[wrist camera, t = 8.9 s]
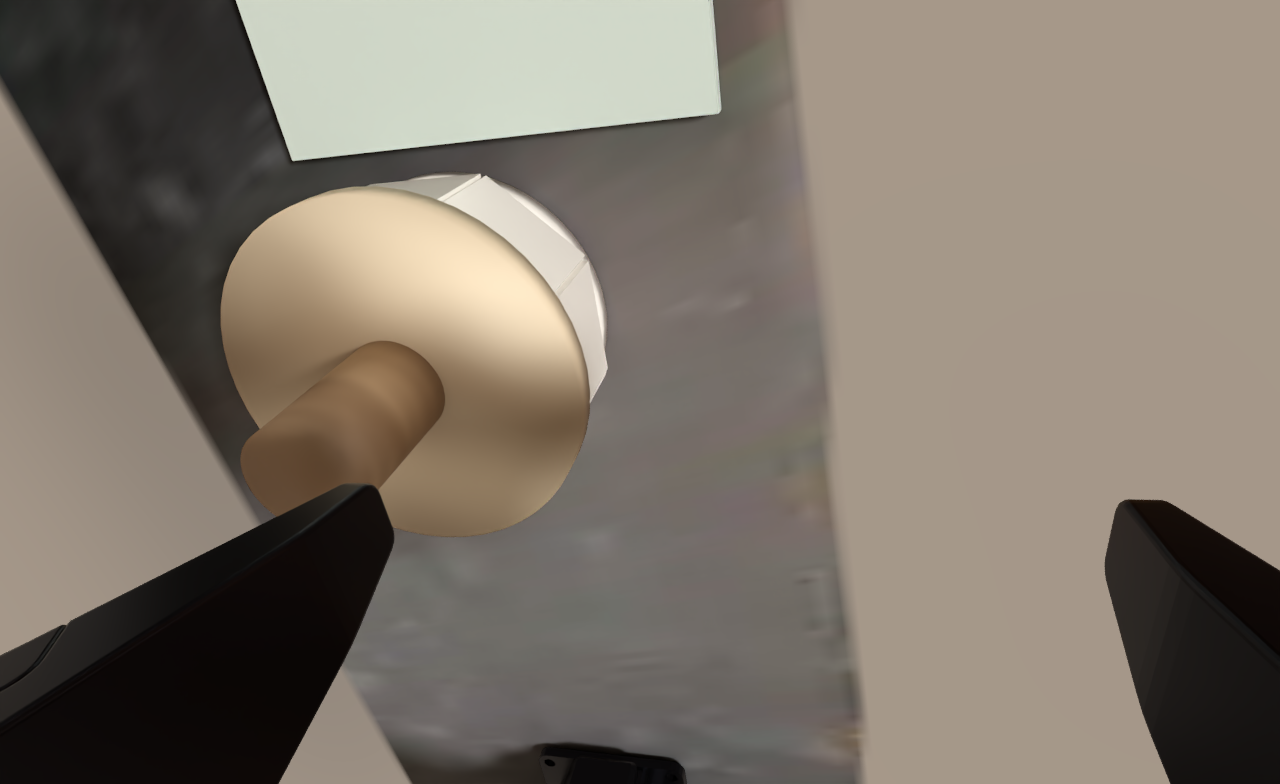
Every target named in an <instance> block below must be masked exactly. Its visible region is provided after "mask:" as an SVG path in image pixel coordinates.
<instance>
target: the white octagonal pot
mask: <svg viewBox="0 0 1280 784" xmlns="http://www.w3.org/2000/svg"><path fill="white" fill-rule="evenodd" d="M368 186H379V187H387V188H395V189H402V190H407V191H410V192H414V193H418V194H422V195H425V196H429V197H432V198H434V199H437V200H439V201H442V202H444V203H447V204H449V205H452V206H454V207H456V208H458V209H460V210H462V211H463V212H465V213H467V214H469V215H471V216H473V217H474V218H476V219H478V220H480V221H481V222H483V223H484V224H486V225H487V226H488V227H490V228H491V229H493V230H494V231H495V232H497V233H498V234H500V235H501V236H502V237H504V238H505V239H506V240H507V241H508V242H509V243H511V244H512V245H513V246H514V247H515V248H516V249H517V250H518V251H519V252H521V253H522V254H523V255H524V256H525V257H526V258H527V259H528V260H529V261H530V263H531V264H532V265H533V266H534V267H535V268H536V269H537V270H538V272H539V273H540V274H541V275H542V276H543V277H544V278H545V280H546V281H547V283H548V284H549V286H550V287H551V288H552V290H553V291H554V293H555V294H556V295H557V297H558V298H559V300H560V301H561V303H562V305H563V307H564V309H565V311H566V312H567V314H568V316H569V318H570V320H571V321H572V323H573V326H574V328H575V331H576V333H577V336H578V338H579V341H580V344H581V346H582V350H583V354H584V358H585V361H586V365H587V369H588V377H589V386H590V402H591V401H592V399H593V397H594V395H595V393H596V391H597V390H598V388H599V386H600V384H601V382H602V380H603V378H604V377H605V375H606V371H607V369H608V367H607V362H606V356H605V347H606V342H607V313H606V304H605V300H604V296H603V292H602V288H601V285H600V282H599V280H598V277H597V274H596V272H595V269H594V268H593V266H592V264H591V262H590V260H589V258H588V256H587V254H586V252H585V251H584V250H583V248H582V247H581V245H580V244H579V242H578V241H577V239H576V238H575V236H574V235H573V234H572V233H571V232H570V231H569V230H568V228H567V227H566V226H565V225H564V224H563V223H562V222H561V221H560V220H559V219H558V218H557V217H556V216H555V215H554V214H553V213H552V212H551V211H549V210H548V209H547V208H546V207H545V206H543V205H542V204H541V203H539V202H538V201H536V200H535V199H534V198H532V197H531V196H529V195H527V194H526V193H524V192H522V191H520V190H518V189H516V188H515V187H513V186H511V185H508V184H506V183H503V182H501V181H498V180H496V179H493V178H489V177H487V176H481V175H480V174H473V173H464V172H435V173H429V174H424V175H419V176H416V177H413V178H411V179H408V180H405V181H399V182H389V183H379V184H370V185H368ZM368 186H366V187H368Z"/></svg>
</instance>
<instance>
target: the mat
mask: <svg viewBox="0 0 1280 784" xmlns="http://www.w3.org/2000/svg"><path fill="white" fill-rule="evenodd" d="M236 3H237V5H238V8H239V11H240V14H241V17H242V20H243V22H244V25H245V28H246V31H247V34H248V37H249V39H250V42H251V45H252V48H253V51H254V54H255V56H256V59H257V62H258V65H259V68H260V71H261V73H262V76H263V79H264V82H265V85H266V88H267V90H268V93H269V96H270V99H271V102H272V105H273V107H274V110H275V113H276V116H277V119H278V122H279V124H280V127H281V130H282V133H283V136H284V139H285V141H286V144H287V147H288V150H289V153H290V156H291V158H292V161H297V160H306V159H315V158H324V157H333V156H342V155H351V154H360V153H369V152H378V151H387V150H396V149H405V148H414V147H423V146H432V145H441V144H450V143H459V142H468V141H477V140H486V139H495V138H504V137H513V136H522V135H531V134H540V133H549V132H558V131H567V130H576V129H585V128H594V127H603V126H612V125H621V124H630V123H639V122H648V121H657V120H666V119H675V118H684V117H693V116H702V115H711V114H718V113H719V112H720V111H721V99H720V86H719V74H718V61H717V49H716V36H715V24H714V11H713V0H236Z"/></svg>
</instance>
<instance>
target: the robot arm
mask: <svg viewBox="0 0 1280 784" xmlns="http://www.w3.org/2000/svg"><path fill="white" fill-rule="evenodd" d="M393 544H394V530H393V527H392V524H391V521H390V519H389V516H388V513H387V511H386V508H385V505H384V503H383V500H382V497H381V495H380V492H379V490H378V489H377V488H376V487H375V486H374V485H372V484H370V483H344V484H341V485H339V486H337V487H335V488H333V489H331V490H329V491H327V492H325V493H323V494H321V495H319V496H317V497H315V498H313V499H311V500H309V501H307V502H305V503H303V504H301V505H299V506H297V507H295V508H293V509H291V510H289V511H287V512H285V513H283V514H281V515H279V516H277V517H275V518H273V519H272V520H270V521H268V522H266V523H264V524H262V525H260V526H258V527H256V528H254V529H252V530H250V531H248V532H246V533H244V534H242V535H240V536H238V537H236V538H234V539H232V540H230V541H228V542H226V543H224V544H222V545H220V546H218V547H216V548H214V549H212V550H210V551H208V552H206V553H204V554H202V555H200V556H198V557H196V558H194V559H192V560H190V561H188V562H186V563H184V564H182V565H180V566H178V567H176V568H174V569H172V570H170V571H168V572H166V573H164V574H162V575H161V576H158V577H156V578H154V579H152V580H150V581H148V582H146V583H144V584H142V585H140V586H138V587H137V588H134V589H133V590H131V591H129V592H127V593H124V594H123V595H121V596H119V597H117V598H115V599H113V600H111V601H109V602H107V603H105V604H103V605H101V606H99V607H97V608H95V609H93V610H91V611H89V612H87V613H85V614H83V615H81V616H79V617H77V618H75V619H73V620H71V621H70V622H69V623H68V624H67V625H61V626H59V627H57V628H55V629H53V630H51V631H49V632H47V633H45V634H43V635H41V636H39V637H37V638H35V639H33V640H31V641H29V642H27V643H25V644H23V645H21V646H19V647H17V648H15V649H13V650H11V651H8V652H6V653H4V654H2V655H0V784H279V782H280V780H281V778H282V776H283V774H284V772H285V771H286V769H287V767H288V765H289V763H290V761H291V759H292V757H293V756H294V754H295V752H296V750H297V748H298V746H299V744H300V742H301V741H302V739H303V737H304V735H305V733H306V731H307V729H308V727H309V726H310V724H311V722H312V720H313V718H314V716H315V714H316V712H317V711H318V709H319V707H320V705H321V703H322V701H323V699H324V697H325V695H326V694H327V692H328V690H329V688H330V686H331V684H332V682H333V680H334V679H335V677H336V675H337V673H338V671H339V669H340V667H341V666H342V664H343V662H344V660H345V658H346V656H347V654H348V652H349V650H350V648H351V646H352V644H353V642H354V639H355V637H356V635H357V633H358V630H359V628H360V626H361V623H362V621H363V618H364V616H365V614H366V611H367V609H368V606H369V604H370V602H371V599H372V597H373V594H374V592H375V589H376V587H377V585H378V582H379V580H380V577H381V575H382V573H383V570H384V568H385V565H386V563H387V560H388V558H389V556H390V553H391V551H392V548H393ZM1105 576H1106V581H1107V585H1108V589H1109V593H1110V597H1111V600H1112V604H1113V608H1114V611H1115V615H1116V619H1117V622H1118V626H1119V630H1120V633H1121V637H1122V641H1123V645H1124V648H1125V652H1126V656H1127V660H1128V663H1129V667H1130V671H1131V674H1132V678H1133V682H1134V685H1135V689H1136V693H1137V696H1138V699H1139V703H1140V706H1141V709H1142V713H1143V715H1144V718H1145V721H1146V724H1147V726H1148V729H1149V732H1150V734H1151V737H1152V739H1153V742H1154V744H1155V747H1156V749H1157V751H1158V754H1159V757H1160V759H1161V762H1162V764H1163V767H1164V769H1165V772H1166V774H1167V776H1168V779H1169V782H1170V784H1280V570H1278V569H1277V568H1275V567H1273V566H1272V565H1270V564H1268V563H1267V562H1265V561H1264V560H1262V559H1260V558H1259V557H1257V556H1256V555H1254V554H1252V553H1251V552H1249V551H1247V550H1246V549H1244V548H1243V547H1241V546H1239V545H1238V544H1236V543H1234V542H1233V541H1231V540H1230V539H1228V538H1226V537H1225V536H1223V535H1221V534H1220V533H1218V532H1216V531H1215V530H1213V529H1211V528H1210V527H1208V526H1207V525H1205V524H1203V523H1202V522H1200V521H1199V520H1197V519H1195V518H1194V517H1192V516H1191V515H1189V514H1187V513H1186V512H1184V511H1183V510H1181V509H1179V508H1178V507H1176V506H1174V505H1172V504H1171V503H1169V502H1167V501H1163V500H1129V499H1128V500H1124V501H1122V502H1121V503H1119V505H1118V507H1117V509H1116V511H1115V515H1114V520H1113V524H1112V529H1111V534H1110V538H1109V543H1108V548H1107V552H1106V557H1105ZM539 763H540V766H541V769H542V772H543V775H544V778H545V781H546V784H687V780H686V775H685V770H684V768H683V767H682V766H681V765H680V764H678V763H675V762H670V761H661V760H653V759H644V758H636V757H627V756H619V755H610V754H602V753H593V752H585V751H576V750H568V749H559V748H551V747H549V748H544V749H543V750H542V752H541V755H540V758H539Z"/></svg>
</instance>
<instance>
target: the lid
mask: <svg viewBox="0 0 1280 784" xmlns="http://www.w3.org/2000/svg"><path fill="white" fill-rule="evenodd" d="M221 332H222V339H223V347H224V351H225V355H226V359H227V362H228V366H229V370H230V372H231V375H232V377H233V380H234V383H235V385H236V388H237V390H238V392H239V394H240V396H241V398H242V400H243V402H244V404H245V406H246V408H247V410H248V411H249V413H250V414H251V416H252V418H253V419H254V421H255V422H256V424H257V425H258V427H259V428H260V429H259V430H258V431H257V432H256V433H255V434H253V435H252V436H251V437H250V438H249V439H248V440H247V441H246V443H245V444H244V446H243V448H242V452H241V469H242V472H243V476H244V478H245V480H246V483H247V484H248V486H249V488H250V490H251V491H252V493H253V494H254V495H255V497H256V498H257V499H258V500H259V501H260V502H261V503H262V505H263V506H264V507H266V508H267V509H268V510H269V511H270V512H271V513H273V514H274V515H275V516H279V515H281V514H283V513H285V512H287V511H289V510H291V509H293V508H295V507H297V506H299V505H301V504H303V503H305V502H307V501H309V500H311V499H313V498H315V497H317V496H319V495H321V494H323V493H325V492H327V491H329V490H331V489H333V488H335V487H337V486H339V485H341V484H344V483H370V484H372V485H374V486H375V487H376V488H377V489H378V490H379V492H380V495H381V497H382V500H383V503H384V505H385V508H386V511H387V513H388V516H389V519H390V521H391V524H392V527H394V528H398V529H401V530H404V531H409V532H413V533H418V534H423V535H431V536H441V537H468V536H475V535H483V534H487V533H491V532H495V531H499V530H502V529H505V528H507V527H510V526H512V525H514V524H517V523H519V522H521V521H522V520H524V519H526V518H527V517H529V516H531V515H532V514H534V513H535V512H537V511H538V510H539V509H540V508H541V507H542V506H543V505H545V504H546V503H547V502H548V501H549V500H550V499H551V498H552V496H553V495H554V494H555V493H556V491H557V490H558V489H559V488H560V487H561V485H562V483H563V481H564V480H565V478H566V476H567V474H568V473H569V471H570V469H571V467H572V465H573V463H574V461H575V459H576V457H577V455H578V453H579V451H580V448H581V446H582V443H583V440H584V437H585V434H586V430H587V425H588V419H589V414H590V386H589V377H588V369H587V365H586V361H585V358H584V354H583V350H582V346H581V344H580V341H579V338H578V336H577V333H576V331H575V328H574V326H573V323H572V321H571V320H570V318H569V316H568V314H567V312H566V311H565V309H564V307H563V305H562V303H561V301H560V300H559V298H558V297H557V295H556V294H555V293H554V291H553V290H552V288H551V287H550V286H549V284H548V283H547V281H546V280H545V278H544V277H543V276H542V275H541V274H540V273H539V272H538V270H537V269H536V268H535V267H534V266H533V265H532V264H531V263H530V261H529V260H528V259H527V258H526V257H525V256H524V255H523V254H522V253H521V252H519V251H518V250H517V249H516V248H515V247H514V246H513V245H512V244H511V243H509V242H508V241H507V240H506V239H505V238H504V237H502V236H501V235H500V234H498V233H497V232H495V231H494V230H493V229H491V228H490V227H488V226H487V225H486V224H484V223H483V222H481V221H480V220H478V219H476V218H474V217H473V216H471V215H469V214H467V213H465V212H463V211H462V210H460V209H458V208H456V207H454V206H452V205H449V204H447V203H444V202H442V201H439V200H437V199H434V198H432V197H429V196H425V195H422V194H418V193H414V192H410V191H407V190H402V189H395V188H387V187H379V186H368V187H349V188H343V189H337V190H331V191H328V192H325V193H322V194H319V195H316V196H313V197H311V198H308V199H306V200H304V201H301V202H299V203H297V204H295V205H292V206H290V207H288V208H286V209H284V210H283V211H281V212H279V213H277V214H275V215H274V216H272V217H270V218H269V219H267V220H266V221H265V222H264V223H263V224H261V225H260V226H259V227H258V228H257V229H255V230H254V231H253V232H252V233H251V235H250V236H249V237H248V238H247V240H246V241H245V242H244V243H243V244H242V246H241V247H240V249H239V250H238V252H237V254H236V256H235V258H234V260H233V261H232V263H231V265H230V268H229V271H228V274H227V277H226V280H225V283H224V288H223V295H222V301H221Z"/></svg>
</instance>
